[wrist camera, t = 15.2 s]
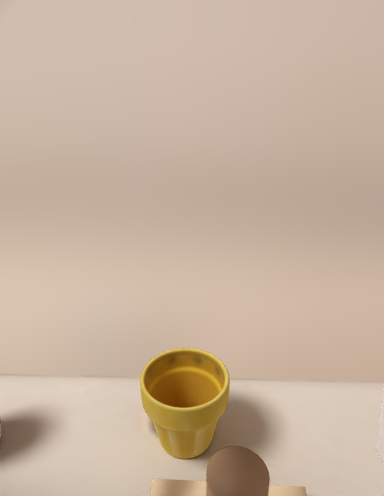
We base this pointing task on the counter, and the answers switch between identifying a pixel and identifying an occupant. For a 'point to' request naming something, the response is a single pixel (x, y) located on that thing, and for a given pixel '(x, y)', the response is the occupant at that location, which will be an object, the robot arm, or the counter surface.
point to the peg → (236, 473)
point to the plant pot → (185, 398)
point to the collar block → (194, 492)
